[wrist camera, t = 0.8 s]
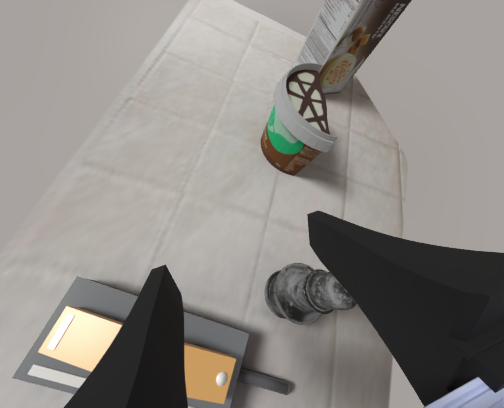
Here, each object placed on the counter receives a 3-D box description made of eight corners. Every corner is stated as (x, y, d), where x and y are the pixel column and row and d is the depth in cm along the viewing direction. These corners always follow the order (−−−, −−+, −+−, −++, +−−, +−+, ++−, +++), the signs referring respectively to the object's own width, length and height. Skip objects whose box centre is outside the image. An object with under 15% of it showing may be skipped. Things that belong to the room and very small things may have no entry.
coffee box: (325, 68, 46) (391, -35, 32) (341, 92, 45) (417, -5, 31) (289, 70, 42) (345, -45, 28) (305, 96, 41) (373, -11, 27)
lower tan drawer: (218, 397, 18) (224, 404, 17) (145, 383, 16) (147, 390, 15) (230, 355, 20) (236, 359, 19) (164, 336, 18) (167, 340, 17)
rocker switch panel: (279, 433, 21) (297, 455, 18) (35, 366, 18) (6, 380, 15) (294, 348, 25) (312, 355, 21) (89, 279, 21) (74, 275, 18)
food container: (252, 109, 36) (277, 47, 27) (288, 117, 38) (322, 61, 29) (253, 179, 31) (284, 130, 22) (294, 184, 33) (338, 141, 24)
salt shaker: (302, 264, 28) (377, 243, 18) (313, 316, 26) (405, 326, 16) (258, 270, 27) (313, 249, 16) (266, 326, 25) (335, 345, 14)
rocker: (126, 377, 16) (118, 382, 15) (50, 350, 17) (36, 352, 15) (146, 331, 18) (141, 332, 16) (76, 306, 18) (65, 305, 17)
